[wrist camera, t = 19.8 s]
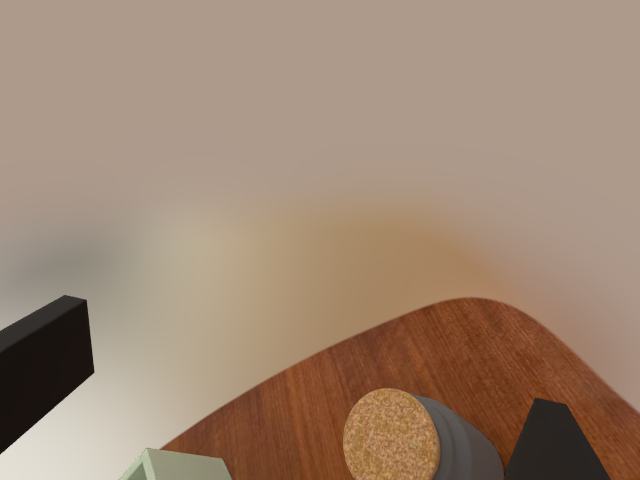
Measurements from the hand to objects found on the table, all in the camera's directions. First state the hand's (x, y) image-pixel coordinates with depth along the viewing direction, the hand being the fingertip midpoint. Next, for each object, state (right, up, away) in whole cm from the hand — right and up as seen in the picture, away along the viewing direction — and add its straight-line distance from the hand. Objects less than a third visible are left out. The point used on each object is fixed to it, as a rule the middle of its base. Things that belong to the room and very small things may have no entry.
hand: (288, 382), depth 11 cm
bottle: (+12, -13, +17) cm, 25 cm away
